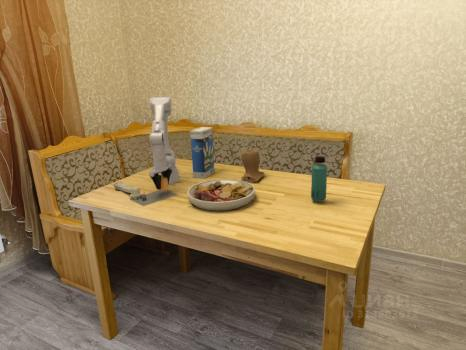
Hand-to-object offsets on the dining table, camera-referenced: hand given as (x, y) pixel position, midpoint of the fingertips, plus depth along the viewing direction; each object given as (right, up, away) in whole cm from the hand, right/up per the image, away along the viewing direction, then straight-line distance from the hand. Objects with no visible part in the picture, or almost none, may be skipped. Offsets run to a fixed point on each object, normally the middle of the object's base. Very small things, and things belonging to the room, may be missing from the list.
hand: (162, 186), depth 156 cm
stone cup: (+43, +4, +22) cm, 48 cm away
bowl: (+28, -6, -5) cm, 29 cm away
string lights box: (+17, +6, +31) cm, 36 cm away
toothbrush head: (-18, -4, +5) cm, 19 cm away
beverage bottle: (+69, -6, -12) cm, 71 cm away
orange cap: (0, -1, 0) cm, 1 cm away
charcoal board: (-3, -5, -2) cm, 7 cm away
